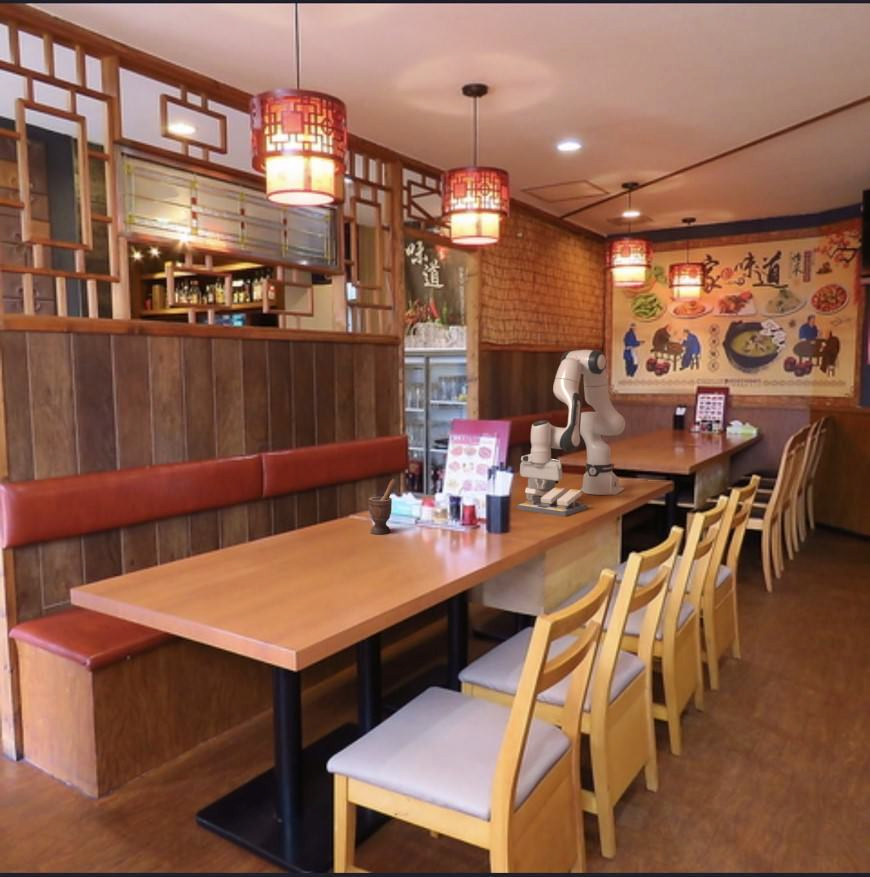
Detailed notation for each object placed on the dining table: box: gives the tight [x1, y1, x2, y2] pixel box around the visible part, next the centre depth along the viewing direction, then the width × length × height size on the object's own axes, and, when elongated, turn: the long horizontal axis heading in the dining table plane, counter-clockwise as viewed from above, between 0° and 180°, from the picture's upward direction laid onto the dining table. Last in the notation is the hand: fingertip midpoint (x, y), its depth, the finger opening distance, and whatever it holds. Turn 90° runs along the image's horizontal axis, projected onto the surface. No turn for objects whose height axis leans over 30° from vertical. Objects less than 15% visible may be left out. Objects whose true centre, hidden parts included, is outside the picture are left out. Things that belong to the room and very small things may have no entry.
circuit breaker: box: [525, 477, 559, 501], centre depth 342 cm, size 8×14×15 cm, turn 89°
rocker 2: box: [541, 486, 566, 504], centre depth 318 cm, size 12×5×2 cm, turn 139°
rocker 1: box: [524, 487, 548, 497], centre depth 323 cm, size 12×5×2 cm, turn 139°
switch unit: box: [516, 496, 588, 517], centre depth 317 cm, size 18×24×5 cm
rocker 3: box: [557, 488, 583, 506], centre depth 312 cm, size 12×5×2 cm, turn 139°
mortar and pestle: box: [368, 478, 399, 535], centre depth 280 cm, size 12×9×20 cm
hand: (541, 488), depth 325 cm, fingers closed
